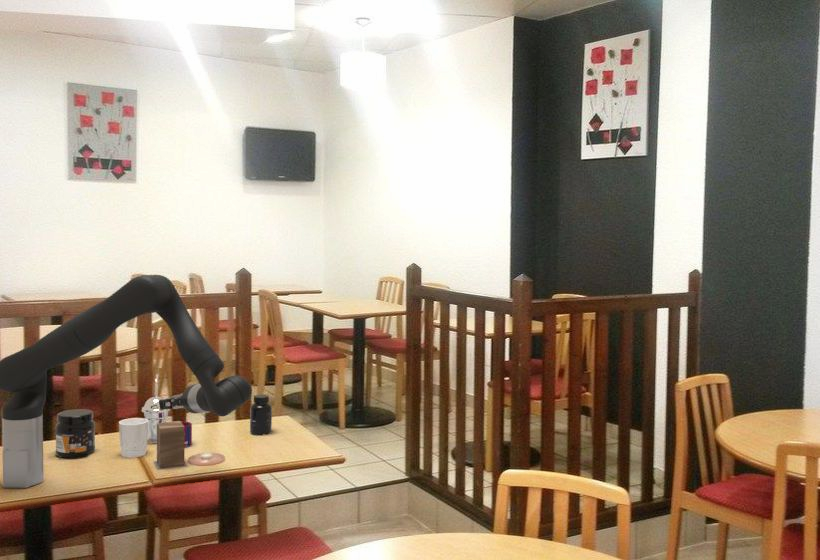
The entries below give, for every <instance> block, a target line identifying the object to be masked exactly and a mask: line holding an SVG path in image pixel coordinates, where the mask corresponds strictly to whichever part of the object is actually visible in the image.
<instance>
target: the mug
mask: <svg viewBox="0 0 820 560" xmlns="http://www.w3.org/2000/svg"><path fill="white" fill-rule="evenodd" d="M181 423H182V424H183V425H184V449H186V448H189V447H192V445H193V440H192V439H193V437H192V436H193V435H192V434H193V432H192V431H193V425H192V424H193V423H192V422H191V421H181Z"/></svg>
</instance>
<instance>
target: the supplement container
mask: <svg viewBox="0 0 820 560" xmlns="http://www.w3.org/2000/svg"><path fill="white" fill-rule="evenodd" d="M93 419H94V412H93V410H90V409H85V408H81V409H80V408H78V409H67V410H63V411H60V412H57V414H56V422H57V423H56V424H55V425H54V426H55V427H54V428H55V455H57V456H58V457H60V458H64V459H79V458H78V457H80V458H84V457H88V456H89V455H91V454H93V453H94V452H95V450H96V433H95V428H96V422H95V421H94V420H93ZM87 455H88V456H87Z"/></svg>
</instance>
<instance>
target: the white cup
mask: <svg viewBox="0 0 820 560" xmlns="http://www.w3.org/2000/svg"><path fill="white" fill-rule="evenodd" d="M118 429H119V443H120V444H119V446H120V455H121V457H123V458H129V459H130V458H132V459H133V458H139V457H144V456H145V455H146V454H147V446H148V420H147V419H145V417H144V418H143V417H131V418H130V417H129V418H125V419H121V420H119V421H118Z"/></svg>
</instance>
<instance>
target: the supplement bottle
mask: <svg viewBox="0 0 820 560" xmlns="http://www.w3.org/2000/svg"><path fill="white" fill-rule="evenodd" d="M269 402H270V396H269V395H267V394H256V395H254V396H253V403H252V404H251V405H250V409H249V410H250V411H249V415H250V418H249V421H250V422H249V423H250V424H249V427H250V429H249V430H250V431H249V432H250V433H251V434H252V435H254V436H264V435H263V434H266V435H269V434H271V433H270V432H272V428H273V427H272V425H273V422H272V421H273V420H272V419H273V417H272V416H273V407H272V404H270V403H269ZM268 433H269V434H268Z"/></svg>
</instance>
